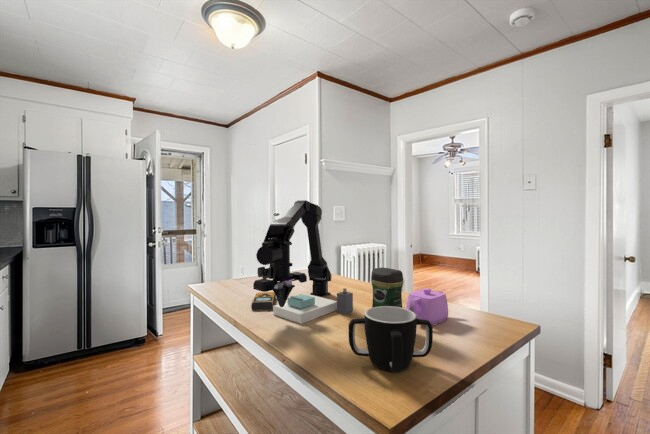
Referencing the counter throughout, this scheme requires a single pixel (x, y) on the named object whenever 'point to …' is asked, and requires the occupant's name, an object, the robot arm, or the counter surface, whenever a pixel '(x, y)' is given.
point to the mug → (390, 337)
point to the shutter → (301, 301)
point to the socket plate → (306, 310)
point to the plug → (344, 302)
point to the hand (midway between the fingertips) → (281, 306)
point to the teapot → (428, 305)
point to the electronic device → (263, 301)
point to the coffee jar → (387, 287)
